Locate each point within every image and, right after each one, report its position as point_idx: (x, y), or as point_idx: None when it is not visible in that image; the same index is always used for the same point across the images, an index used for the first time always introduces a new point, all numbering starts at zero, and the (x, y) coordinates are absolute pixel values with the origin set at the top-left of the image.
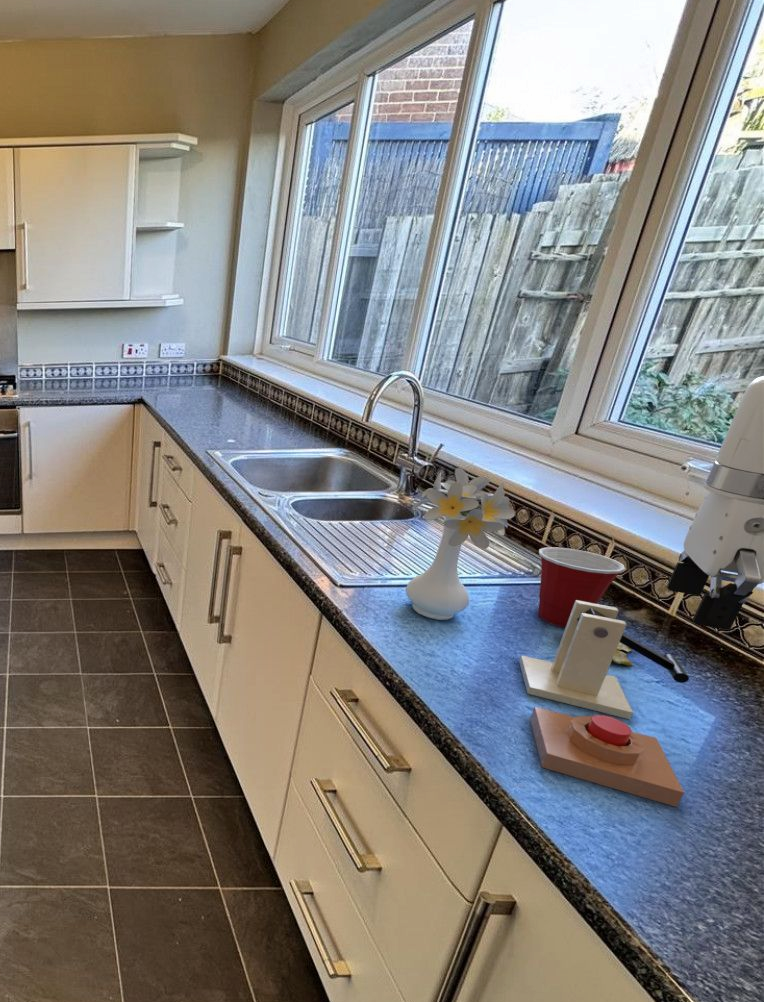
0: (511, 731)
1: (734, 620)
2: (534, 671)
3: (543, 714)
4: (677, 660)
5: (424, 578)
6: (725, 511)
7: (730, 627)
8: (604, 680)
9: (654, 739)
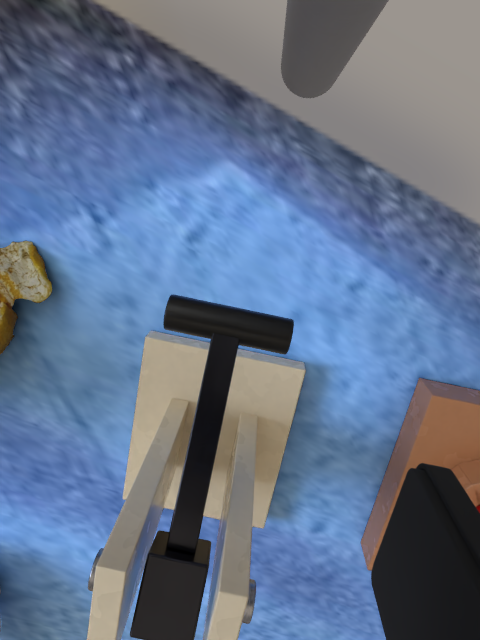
0: None
1: (476, 510)
2: None
3: None
4: (198, 313)
5: None
6: None
7: (451, 475)
8: (174, 370)
9: (439, 401)
